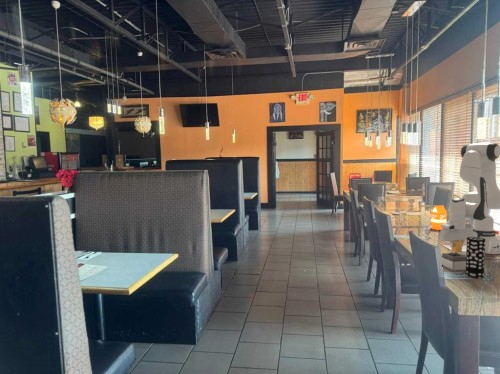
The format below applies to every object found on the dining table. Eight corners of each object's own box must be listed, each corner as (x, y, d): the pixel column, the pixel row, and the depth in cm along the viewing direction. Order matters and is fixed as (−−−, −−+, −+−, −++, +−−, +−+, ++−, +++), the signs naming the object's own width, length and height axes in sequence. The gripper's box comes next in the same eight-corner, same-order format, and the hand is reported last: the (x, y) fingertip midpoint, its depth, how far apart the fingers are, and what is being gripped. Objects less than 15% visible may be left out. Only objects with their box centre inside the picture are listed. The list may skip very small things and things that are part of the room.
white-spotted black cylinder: (477, 273, 202) (478, 236, 200) (487, 278, 194) (489, 240, 192) (462, 273, 202) (463, 236, 200) (471, 278, 194) (473, 240, 192)
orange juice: (446, 229, 319) (447, 205, 317) (437, 229, 316) (438, 206, 315) (439, 227, 326) (440, 204, 324) (430, 228, 324) (431, 205, 322)
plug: (457, 250, 232) (457, 239, 231) (461, 252, 228) (462, 241, 227) (451, 251, 232) (451, 240, 231) (455, 252, 228) (455, 241, 227)
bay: (464, 261, 223) (464, 250, 223) (482, 268, 210) (482, 257, 209) (436, 263, 221) (437, 252, 220) (453, 270, 207) (453, 258, 206)
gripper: (469, 222, 232) (468, 244, 234) (438, 224, 230) (438, 246, 231) (476, 224, 226) (475, 247, 228) (445, 227, 223) (444, 249, 225)
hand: (456, 247), depth 230 cm, fingers closed on plug, 4 cm apart
